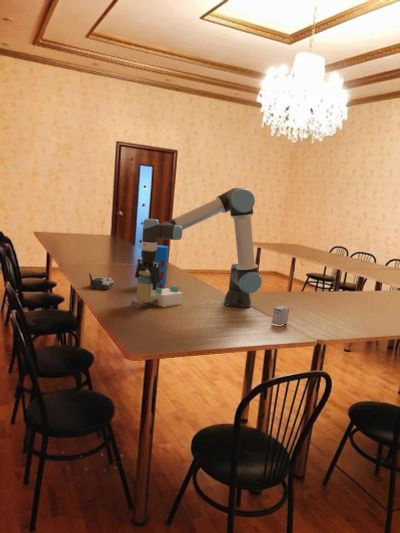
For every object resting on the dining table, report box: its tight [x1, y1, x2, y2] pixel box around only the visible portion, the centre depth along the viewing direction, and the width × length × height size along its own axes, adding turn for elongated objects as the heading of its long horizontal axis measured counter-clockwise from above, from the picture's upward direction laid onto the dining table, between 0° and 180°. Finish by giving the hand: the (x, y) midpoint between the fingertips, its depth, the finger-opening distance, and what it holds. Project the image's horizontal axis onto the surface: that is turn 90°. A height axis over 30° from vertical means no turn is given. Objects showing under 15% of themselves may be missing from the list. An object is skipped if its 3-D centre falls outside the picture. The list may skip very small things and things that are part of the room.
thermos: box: [155, 244, 169, 289], centre depth 280 cm, size 11×11×25 cm
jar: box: [136, 269, 155, 304], centre depth 232 cm, size 9×9×15 cm
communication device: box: [88, 273, 114, 290], centre depth 269 cm, size 12×24×9 cm, turn 176°
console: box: [130, 284, 184, 309], centre depth 238 cm, size 12×28×8 cm, turn 138°
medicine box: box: [271, 305, 290, 325], centre depth 223 cm, size 8×4×9 cm, turn 141°
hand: (146, 294), depth 232 cm, fingers closed on jar, 9 cm apart
